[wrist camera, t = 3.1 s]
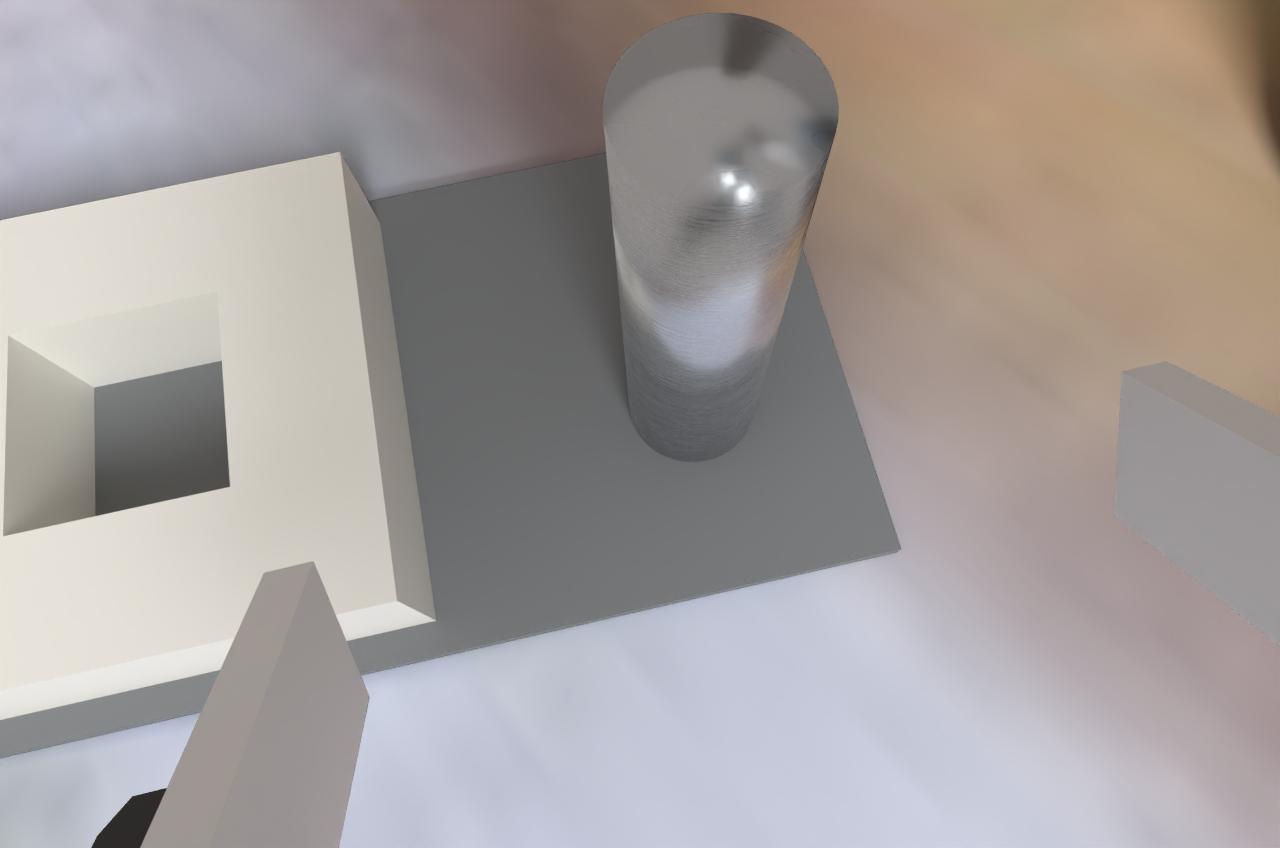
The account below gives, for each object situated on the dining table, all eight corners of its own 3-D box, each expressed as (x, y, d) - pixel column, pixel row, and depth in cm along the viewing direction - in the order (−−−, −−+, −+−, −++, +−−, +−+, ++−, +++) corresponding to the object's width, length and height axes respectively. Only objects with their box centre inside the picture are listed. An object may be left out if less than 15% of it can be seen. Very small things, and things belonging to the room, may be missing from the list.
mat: (759, 130, 32) (760, 121, 32) (897, 552, 27) (900, 548, 26) (-71, 300, 31) (-83, 293, 30) (-100, 781, 25) (-115, 782, 25)
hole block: (380, 223, 31) (340, 151, 27) (436, 620, 26) (396, 601, 22) (-25, 306, 30) (-124, 245, 26) (-42, 729, 25) (-166, 728, 22)
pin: (736, 334, 29) (800, -6, 16) (768, 446, 28) (868, 178, 14) (617, 359, 29) (581, 37, 15) (644, 474, 27) (630, 228, 14)
